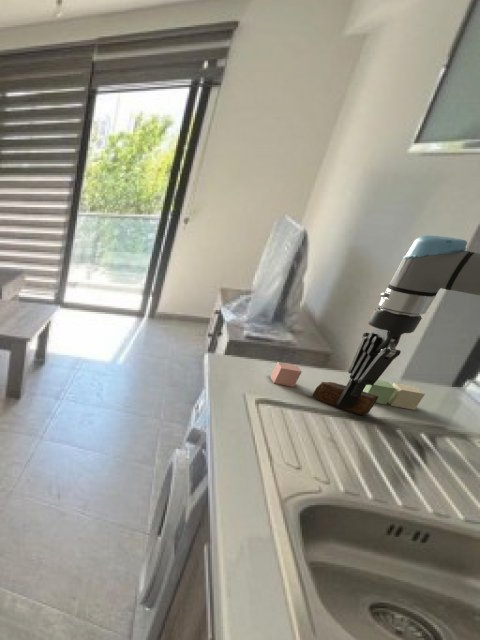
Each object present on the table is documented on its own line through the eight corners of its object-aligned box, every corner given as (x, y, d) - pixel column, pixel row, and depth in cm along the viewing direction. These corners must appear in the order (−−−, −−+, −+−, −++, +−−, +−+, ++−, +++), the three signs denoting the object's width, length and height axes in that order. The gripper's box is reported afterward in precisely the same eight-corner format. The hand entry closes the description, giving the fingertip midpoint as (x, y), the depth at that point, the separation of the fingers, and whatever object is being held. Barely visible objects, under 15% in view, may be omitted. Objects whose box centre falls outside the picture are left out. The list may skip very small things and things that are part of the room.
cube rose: (294, 387, 127) (301, 371, 125) (273, 383, 129) (281, 368, 126) (289, 380, 131) (297, 365, 128) (270, 377, 132) (277, 362, 130)
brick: (369, 413, 115) (379, 396, 113) (362, 416, 114) (373, 399, 111) (317, 394, 123) (326, 378, 121) (310, 397, 122) (319, 381, 119)
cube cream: (414, 410, 118) (425, 394, 116) (391, 405, 120) (401, 389, 117) (406, 402, 122) (416, 386, 119) (383, 398, 123) (393, 382, 121)
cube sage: (385, 404, 120) (395, 388, 118) (363, 400, 122) (372, 384, 120) (378, 397, 124) (388, 381, 121) (356, 393, 125) (366, 377, 123)
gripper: (366, 301, 110) (316, 391, 122) (389, 316, 100) (333, 413, 111) (408, 306, 108) (353, 398, 119) (437, 322, 97) (374, 421, 108)
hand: (344, 405), depth 115 cm, fingers closed
